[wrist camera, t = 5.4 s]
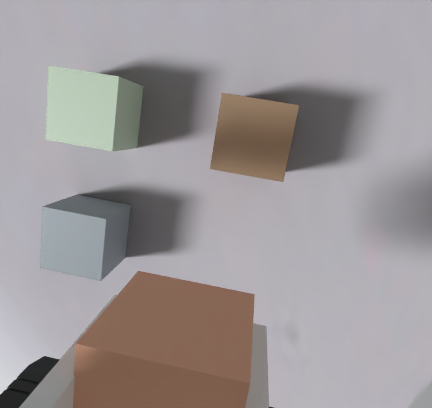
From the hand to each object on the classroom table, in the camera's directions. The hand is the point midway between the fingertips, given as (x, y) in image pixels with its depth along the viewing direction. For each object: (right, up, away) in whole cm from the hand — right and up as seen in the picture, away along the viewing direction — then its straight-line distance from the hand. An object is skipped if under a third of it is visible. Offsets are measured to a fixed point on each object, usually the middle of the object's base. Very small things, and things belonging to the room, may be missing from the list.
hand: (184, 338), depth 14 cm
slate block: (-9, +4, +16) cm, 19 cm away
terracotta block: (0, 0, 0) cm, 0 cm away
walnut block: (+4, +11, +13) cm, 17 cm away
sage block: (-7, +13, +14) cm, 20 cm away
